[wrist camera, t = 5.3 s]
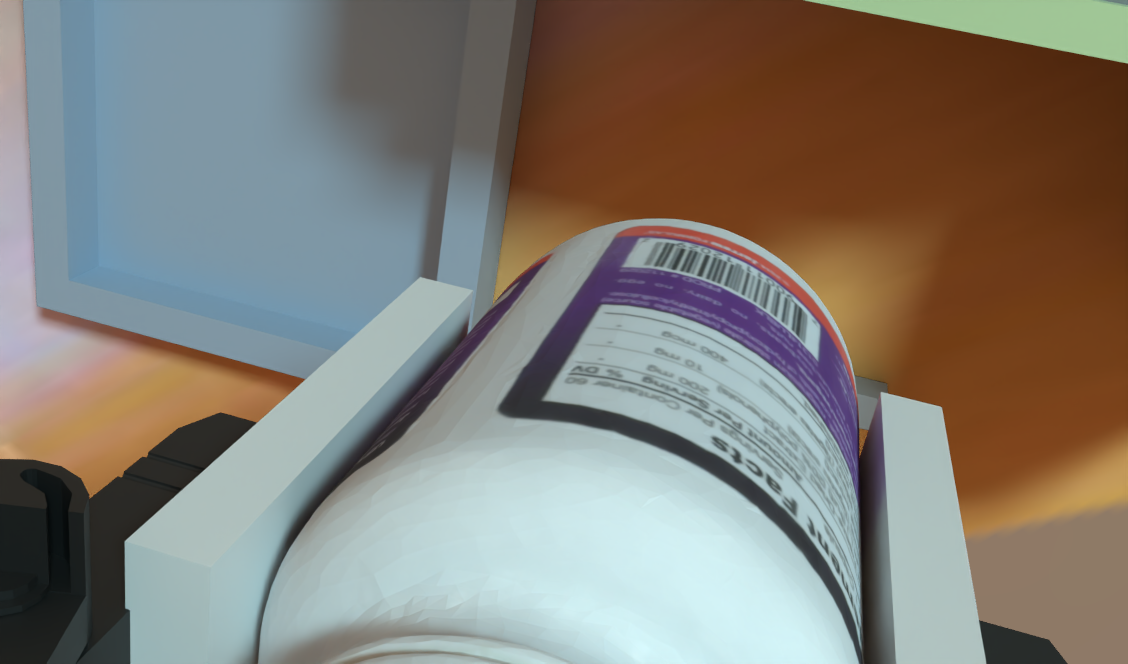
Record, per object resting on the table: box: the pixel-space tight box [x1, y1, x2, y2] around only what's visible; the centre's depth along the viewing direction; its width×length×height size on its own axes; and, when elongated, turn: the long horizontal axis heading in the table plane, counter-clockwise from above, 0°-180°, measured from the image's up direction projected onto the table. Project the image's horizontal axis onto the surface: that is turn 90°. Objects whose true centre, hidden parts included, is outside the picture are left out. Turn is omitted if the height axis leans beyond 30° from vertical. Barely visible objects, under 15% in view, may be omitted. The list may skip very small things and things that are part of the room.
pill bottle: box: [258, 218, 864, 664], centre depth 11 cm, size 5×5×10 cm
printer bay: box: [805, 0, 1128, 430], centre depth 23 cm, size 21×18×11 cm
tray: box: [23, 0, 537, 379], centre depth 31 cm, size 14×14×2 cm
